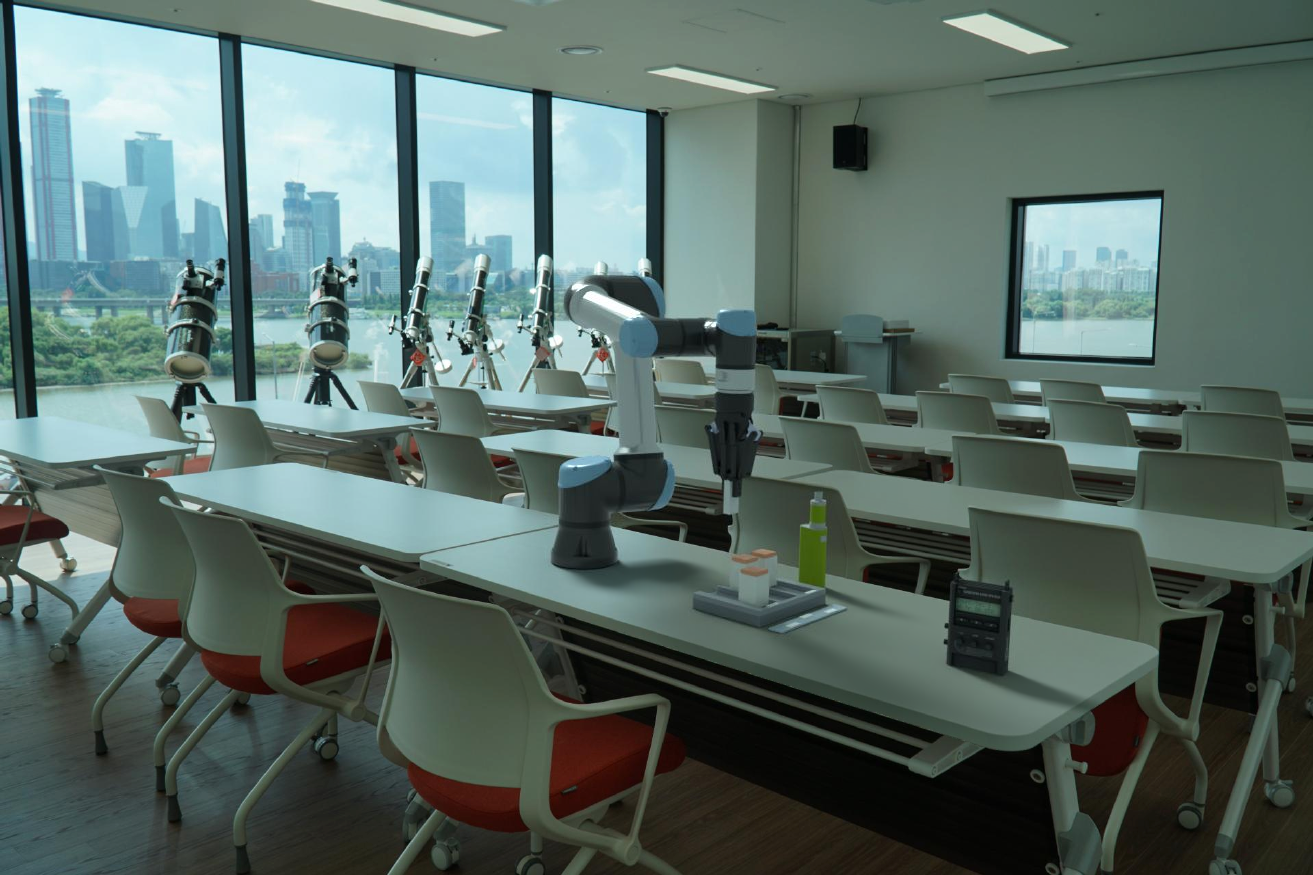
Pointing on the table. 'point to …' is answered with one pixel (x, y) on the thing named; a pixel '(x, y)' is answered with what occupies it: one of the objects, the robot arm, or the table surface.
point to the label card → (807, 618)
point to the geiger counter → (979, 625)
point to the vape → (814, 545)
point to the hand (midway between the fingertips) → (730, 512)
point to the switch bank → (782, 604)
